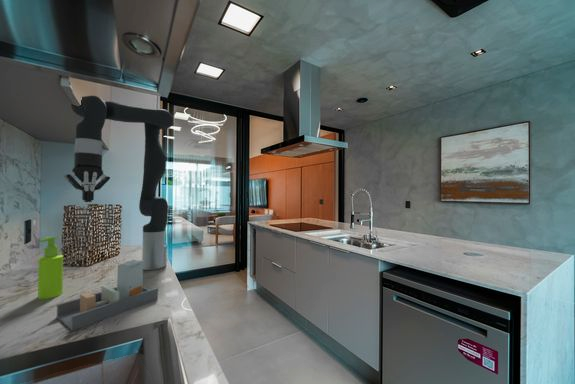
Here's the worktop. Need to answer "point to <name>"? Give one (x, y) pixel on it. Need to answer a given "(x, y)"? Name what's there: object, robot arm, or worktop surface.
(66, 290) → the worktop surface
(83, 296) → the pusher
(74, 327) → the pusher lane
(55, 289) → the soap dispenser
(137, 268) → the skincare box
